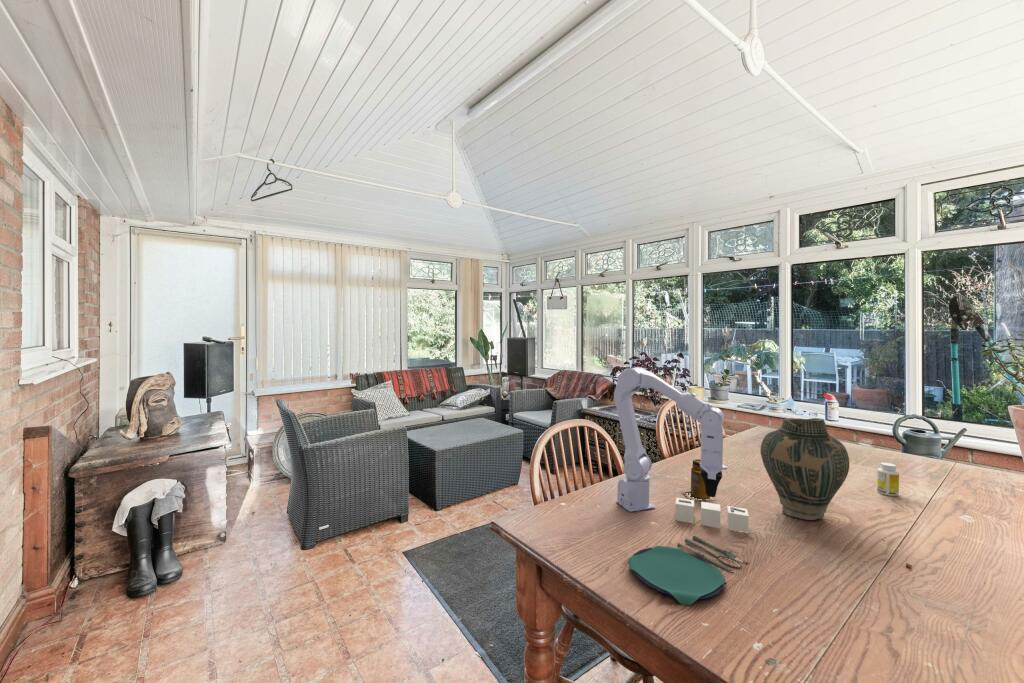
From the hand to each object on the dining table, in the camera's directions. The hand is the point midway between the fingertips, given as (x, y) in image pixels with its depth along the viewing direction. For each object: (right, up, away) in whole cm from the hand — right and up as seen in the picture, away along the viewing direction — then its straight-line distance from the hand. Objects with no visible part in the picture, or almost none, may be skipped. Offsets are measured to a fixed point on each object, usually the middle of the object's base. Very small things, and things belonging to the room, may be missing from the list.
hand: (710, 496), depth 120 cm
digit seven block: (+6, -8, -3) cm, 11 cm away
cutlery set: (-16, -9, -23) cm, 30 cm away
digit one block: (-6, -8, +3) cm, 11 cm away
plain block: (0, -8, 0) cm, 8 cm away
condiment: (+5, -8, +20) cm, 22 cm away
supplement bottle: (+72, -8, +23) cm, 76 cm away
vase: (+31, -8, +6) cm, 32 cm away
